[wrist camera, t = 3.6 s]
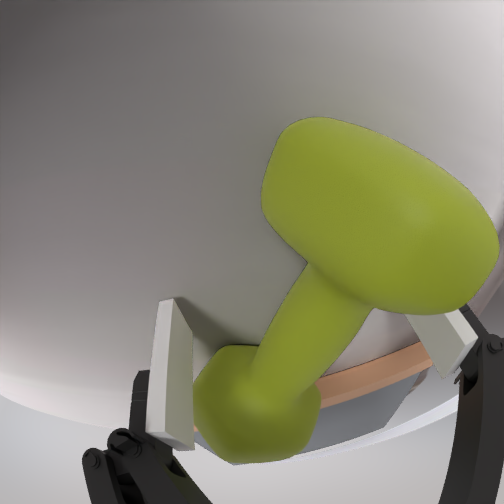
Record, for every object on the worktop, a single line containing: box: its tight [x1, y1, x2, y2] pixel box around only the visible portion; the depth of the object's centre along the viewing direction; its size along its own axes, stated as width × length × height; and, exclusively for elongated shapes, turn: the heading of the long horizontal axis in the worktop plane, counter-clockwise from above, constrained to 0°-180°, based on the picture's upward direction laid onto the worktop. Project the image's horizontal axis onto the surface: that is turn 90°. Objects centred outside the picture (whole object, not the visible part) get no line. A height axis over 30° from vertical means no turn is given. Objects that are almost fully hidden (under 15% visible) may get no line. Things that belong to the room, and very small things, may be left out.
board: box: [194, 371, 421, 465], centre depth 28 cm, size 20×24×1 cm
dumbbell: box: [193, 117, 499, 463], centre depth 11 cm, size 16×8×7 cm, turn 161°
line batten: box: [194, 341, 433, 432], centre depth 20 cm, size 2×24×2 cm, turn 101°
